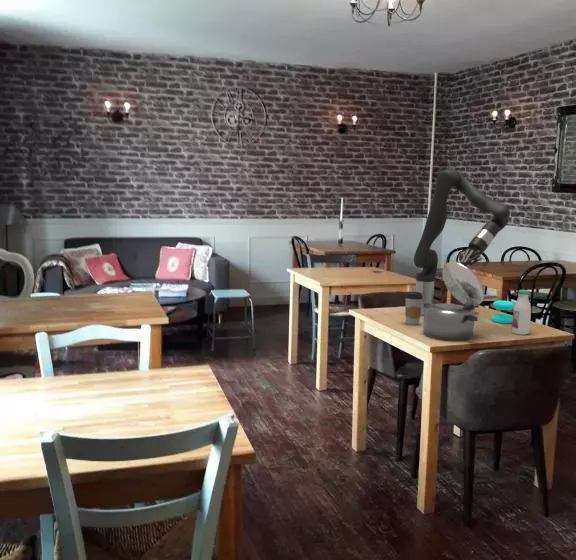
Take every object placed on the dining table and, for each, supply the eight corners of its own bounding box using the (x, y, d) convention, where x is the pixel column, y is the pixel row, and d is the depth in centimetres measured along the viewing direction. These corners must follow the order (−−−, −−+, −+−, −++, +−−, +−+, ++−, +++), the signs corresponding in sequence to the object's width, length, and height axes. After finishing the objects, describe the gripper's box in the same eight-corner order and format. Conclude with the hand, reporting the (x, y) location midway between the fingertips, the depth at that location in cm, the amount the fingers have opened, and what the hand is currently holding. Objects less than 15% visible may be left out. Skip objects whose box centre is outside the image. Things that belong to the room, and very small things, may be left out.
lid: (488, 312, 286) (493, 308, 287) (472, 267, 277) (478, 263, 278) (451, 302, 306) (456, 299, 307) (436, 260, 297) (441, 256, 298)
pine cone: (445, 309, 347) (446, 290, 345) (457, 307, 352) (459, 289, 350) (471, 315, 332) (472, 296, 330) (484, 313, 338) (485, 294, 336)
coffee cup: (420, 322, 315) (422, 291, 313) (422, 326, 307) (423, 295, 305) (402, 321, 316) (404, 291, 314) (404, 325, 308) (406, 294, 305)
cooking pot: (491, 340, 284) (493, 313, 282) (454, 345, 273) (455, 318, 271) (442, 324, 311) (444, 300, 309) (406, 329, 300) (408, 304, 298)
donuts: (504, 299, 325) (519, 303, 316) (503, 318, 327) (517, 323, 318) (489, 300, 321) (503, 304, 312) (487, 320, 323) (501, 324, 314)
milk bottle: (528, 332, 301) (532, 289, 297) (529, 335, 293) (533, 292, 290) (511, 330, 303) (514, 288, 300) (511, 334, 296) (514, 291, 293)
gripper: (466, 234, 297) (444, 262, 293) (488, 237, 286) (466, 266, 282) (474, 245, 300) (452, 273, 296) (496, 249, 289) (473, 277, 285)
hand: (459, 269), depth 289 cm, fingers closed
